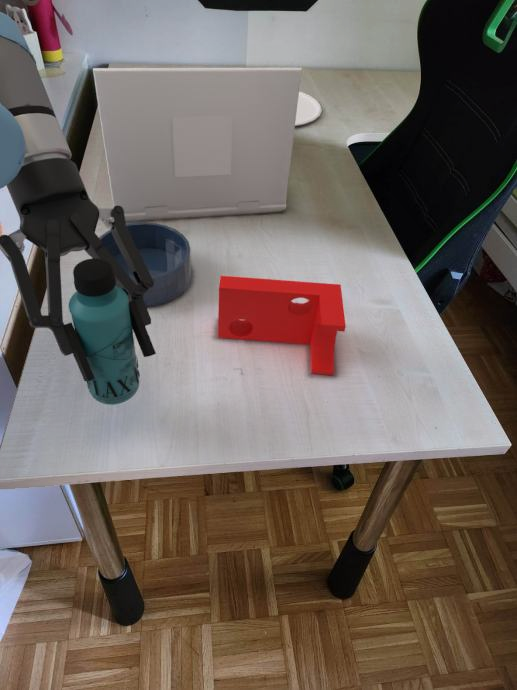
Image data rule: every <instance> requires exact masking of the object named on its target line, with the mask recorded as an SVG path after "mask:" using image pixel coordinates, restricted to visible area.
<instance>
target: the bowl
mask: <svg viewBox="0 0 517 690" xmlns="http://www.w3.org/2000/svg"><path fill="white" fill-rule="evenodd" d="M126 227H127V229H128V231H129V233H130V235H131V237H132V239H133V241H134V243H135V245H136V247H137V249H138V251H139V253H140V255H141V257H142V259H143V261H144V263H145V265H146V267H147V269H148V271H149V273H150V275H151V277H152V279H153V281H154V285H153V287H151V288H150V289H149V290H148V291H146V292H145V293H144V295H143V300H144V303H145V305H146V308H152V307H157V306H158V307H159V306H161V305H164V304H168V303H170V302H172V301H174V300H175V299H177V298H179V297H180V296H181V295H183V293H185V292H186V290H187V289H188V287H189V286H190V284H191V279H192V258H191V246H190V243H189V240H188V239H187V238H186V236H185V235H184V234H183V233H181V232H180V231H179V230H177V229H176V228H173V227H171V226H169V225H166V224H161V223H156V222H145V221H144V222H143V221H142V222H132V223H126ZM98 237H99V239H100V240H101V241H102V242H103V245H104V247H105V248H106V249H107V250H108V251H109V253H110V254H111V255H112V256H113V257H114V259H115V260H116V261H117V262H118V263H119V265H120V266H121V267H122V268H123V269H124V271H125V272H126V273H127V274H128V275H129V277H130V278H131V279H132V280H133V281H134V283H135V284H136V285H137V283H136V281H135V279H134V277H133V275H132V273H131V271H130V269H129V267H128V265H127V263H126V261H125V259H124V257H123V255H122V253H121V251H120V249H119V247H118V245H117V243H116V242H115V240H114V237H113V235H112V232H111V229H108V230H107V231H106V232H104V233H103V234H101V235H100V236H98ZM91 259H93V258H92V257H91ZM129 302H130V301H129Z"/></svg>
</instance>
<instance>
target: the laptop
mask: <svg viewBox="0 0 517 690" xmlns="http://www.w3.org/2000/svg"><path fill="white" fill-rule="evenodd" d="M302 70H303V68H302V67H92V73H93V80H94V86H95V87H94V88H95V93H96V100H97V106H98V107H97V108H98V114H99V119H100V126H101V127H100V128H101V133H102V140H103V148H104V153H105V159H106V167H107V173H108V179H109V180H108V181H109V186H110V194H111V200H112V209H113V208H114V207H115V206H117V205H118V206H121V207H122V208H123V210H124V216H125V222H140V221H155V220H157V221H158V220H173V219H190V218H202V217H203V218H205V217H220V216H235V215H252V214H253V215H254V214H267V213H268V214H269V213H279V212H282V211H285V210H286V209H287V195H288V187H289V178H290V170H291V161H292V153H293V147H294V146H293V145H294V137H295V128H296V126H295V121H296V113H297V104H298V96H299V91H300V87H301V78H302Z"/></svg>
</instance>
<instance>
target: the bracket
mask: <svg viewBox="0 0 517 690" xmlns="http://www.w3.org/2000/svg"><path fill="white" fill-rule="evenodd" d="M300 298H301V299H305V300H307V301H306V302H303V303H301V302H293V300H296V299H300ZM217 313H218V321H217V323H218V324H217V339H229V340H230V339H231V340H242V341H243V340H244V341H257V342H258V341H259V342H271V343H272V342H273V343H285V344H286V343H287V344H299V345H309V356H310V374H311V375H323V376H334V373H335V348H336V347H335V346H336V339H337V334H338V332H342V333H345V332H346V331H345V330H346V327H347V325H346V317H345V309H344V301H343V293H342V284H340V283H327V282H313V281H299V280H286V279H271V278H261V277H260V278H259V277H246V276H232V275H220V277H219V284H218V312H217Z"/></svg>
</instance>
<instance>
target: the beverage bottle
mask: <svg viewBox="0 0 517 690" xmlns="http://www.w3.org/2000/svg"><path fill="white" fill-rule="evenodd" d="M72 274H73V275H72V276H73V286H74V288H75V292H74V293H73V294H72V296H71V297H70V298H69V301H68V311H69V313H70V316H71V319H72V325H73V327H74V329H75V332H76V334H77V336H78V339H79V341H80V344H81V346H82V348H83V351H84V353H85V356H86V358H87V360H88V363H89V365H90V368H91V370H92V372H93V375H94V377H95V379H93V380H90V381H86V383H85V384H86V386H87V389H88V391H87V392H88V393H89V395H90V396H91V397H92V398H93V399H94V400H95V401H97V402H98V403H100V404H103V405H120V404H123V403H125V402H127V401H129V400H130V399H132V398H133V397H134V396H135V395H136V393H137V392H138V390H139V387H140V379H141V374H140V370H139V360H138V357H137V354H136V346H135V342H136V341H135V338H134V336H135V334H134V331H133V329H132V324H131V319H130V312H129V300H128V296H127V294H126V293H125V291H124V290H123V289H121V288H120V287H118V286H116V278H115V275H114V273H113V269H112V266H111V264H110V263H109V262H107V261H105V260H102V259H96V258H94V259H92V258H88V259H83V260H82V261H79V262H78V263H77V264H76V265H75V266H74V268H73V270H72Z"/></svg>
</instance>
